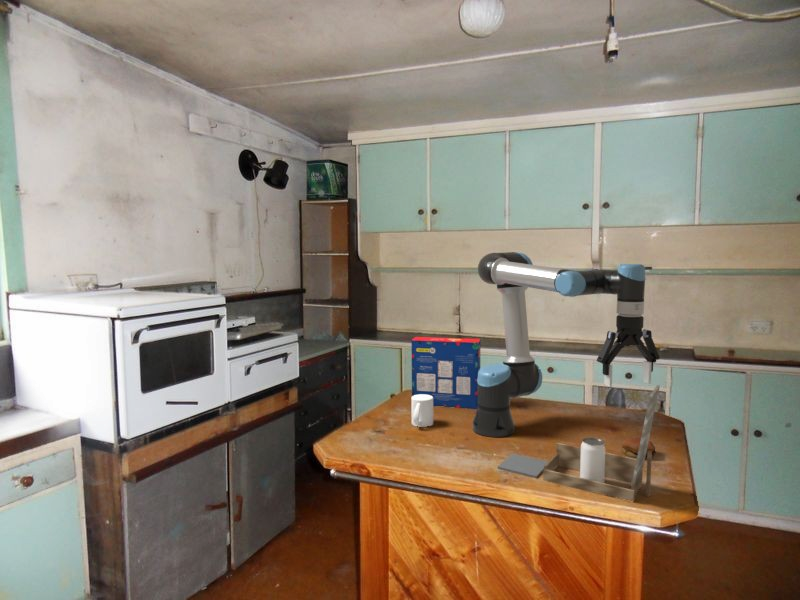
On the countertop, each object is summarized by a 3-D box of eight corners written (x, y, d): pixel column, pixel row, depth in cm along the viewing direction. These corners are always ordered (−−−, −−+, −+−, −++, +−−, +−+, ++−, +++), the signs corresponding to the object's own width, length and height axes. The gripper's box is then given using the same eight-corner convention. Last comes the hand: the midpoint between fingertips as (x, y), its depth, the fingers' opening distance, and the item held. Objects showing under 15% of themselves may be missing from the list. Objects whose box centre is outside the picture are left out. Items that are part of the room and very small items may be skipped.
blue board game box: (480, 403, 222) (480, 339, 219) (478, 409, 215) (478, 342, 212) (416, 399, 229) (415, 337, 226) (411, 405, 221) (411, 340, 219)
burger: (615, 453, 168) (616, 439, 168) (631, 446, 174) (632, 433, 173) (645, 463, 160) (645, 448, 160) (661, 456, 166) (661, 442, 165)
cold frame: (543, 479, 149) (544, 381, 146) (556, 464, 159) (558, 372, 156) (647, 505, 134) (652, 395, 131) (655, 487, 144) (659, 385, 141)
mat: (497, 468, 157) (497, 466, 157) (513, 455, 167) (513, 453, 167) (536, 478, 150) (536, 476, 150) (550, 463, 160) (550, 461, 160)
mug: (435, 395, 199) (426, 404, 188) (435, 421, 200) (426, 431, 189) (415, 393, 202) (405, 401, 191) (415, 419, 203) (405, 429, 192)
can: (606, 488, 144) (607, 446, 142) (581, 486, 145) (582, 444, 144) (602, 478, 150) (603, 437, 149) (578, 476, 151) (579, 436, 150)
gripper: (601, 318, 151) (598, 390, 153) (674, 315, 156) (671, 384, 159) (586, 315, 158) (584, 383, 160) (656, 312, 164) (653, 378, 166)
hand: (627, 384), depth 159 cm, fingers open, 13 cm apart
